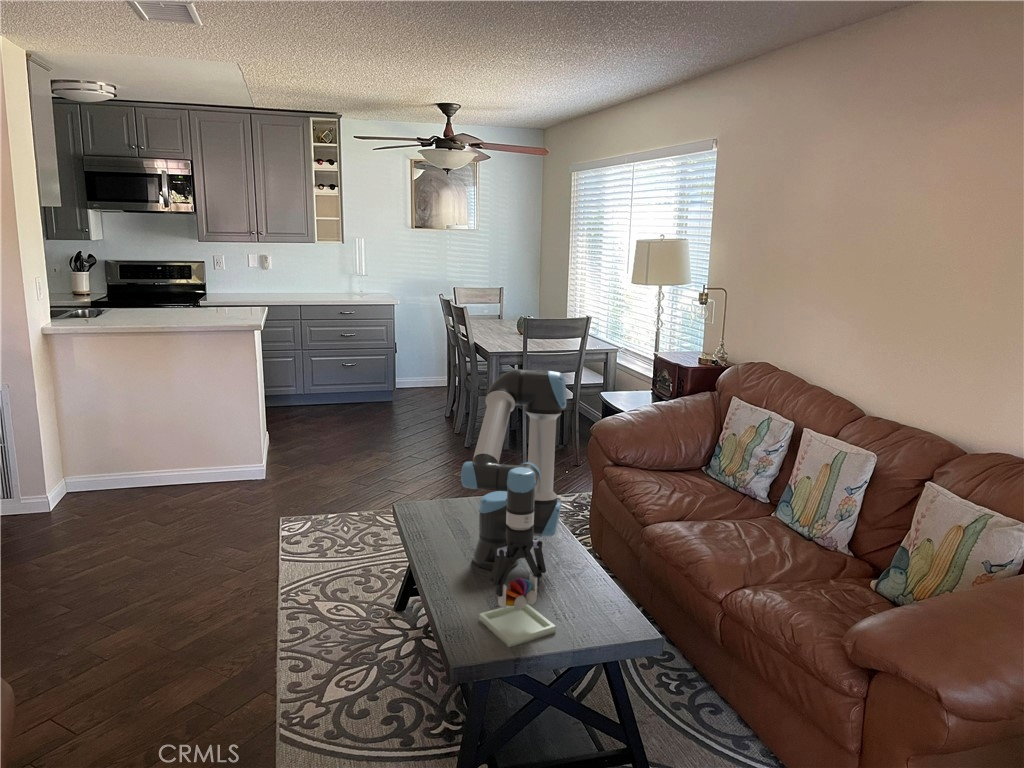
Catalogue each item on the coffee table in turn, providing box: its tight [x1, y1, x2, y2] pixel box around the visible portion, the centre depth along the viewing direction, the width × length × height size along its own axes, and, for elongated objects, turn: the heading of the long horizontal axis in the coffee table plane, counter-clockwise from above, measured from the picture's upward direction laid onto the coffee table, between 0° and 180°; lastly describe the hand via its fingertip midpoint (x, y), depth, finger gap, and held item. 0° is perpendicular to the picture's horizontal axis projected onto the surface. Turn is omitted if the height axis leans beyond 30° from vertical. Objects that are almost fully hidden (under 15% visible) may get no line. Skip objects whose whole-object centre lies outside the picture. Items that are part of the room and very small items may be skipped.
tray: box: [478, 604, 557, 648], centre depth 202 cm, size 16×15×2 cm
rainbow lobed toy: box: [506, 577, 538, 610], centre depth 199 cm, size 8×10×7 cm
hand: (517, 601), depth 200 cm, fingers closed on rainbow lobed toy, 9 cm apart
